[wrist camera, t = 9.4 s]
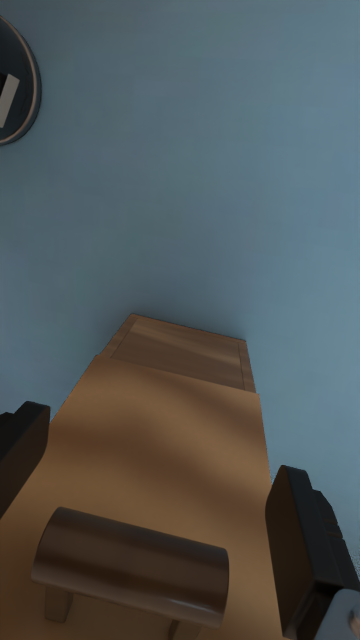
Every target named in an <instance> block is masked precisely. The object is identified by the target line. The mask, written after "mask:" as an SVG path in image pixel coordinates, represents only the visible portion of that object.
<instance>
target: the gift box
mask: <svg viewBox="0 0 360 640" xmlns="http://www.w3.org/2000/svg"><path fill="white" fill-rule="evenodd" d="M100 356H104V357H108V358H112V359H117V360H121V361H125V362H129V363H133V364H137V365H141V366H145V367H149V368H154V369H158V370H162V371H166V372H170V373H174V374H178V375H182V376H186V377H191V378H195V379H199V380H203V381H207V382H211V383H215V384H219V385H224V386H228V387H232V388H236V389H240V390H244V391H248V392H252V393H256V390H255V385H254V380H253V375H252V370H251V365H250V360H249V355H248V350H247V345H246V341H244V340H239V339H235V338H231V337H227V336H223V335H218V334H214V333H210V332H206V331H202V330H198V329H193V328H189V327H185V326H181V325H177V324H172V323H168V322H164V321H160V320H156V319H152V318H147V317H143V316H139V315H135V314H130V316H129V317H128V318H127V320H126V321H125V322H124V323H123V325H122V326H121V327H120V329H119V330H118V331H117V333H116V334H115V335H114V337H113V338H112V339H111V340H110V342H109V343H108V344H107V346H106V347H105V348H104V350H103V351H102V352H101V354H100Z"/></svg>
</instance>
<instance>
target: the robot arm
mask: <svg viewBox="0 0 360 640" xmlns="http://www.w3.org/2000/svg"><path fill="white" fill-rule="evenodd" d="M40 99H41V81H40V74H39V70H38V66H37V63H36V60H35V57H34V55H33V53H32V51H31V49H30V47H29V45H28V44H27V42H26V41H25V39H24V38H23V36H22V35H21V34H20V33H19V32H18V31H17V30H16V29H15V28H14V27H13V26H12V25H11V24H10V23H9V22H7V21H6V20H5V19H4V18H3V17H1V16H0V145H5V144H9V143H11V142H14V141H16V140H17V139H19V138H20V137H22V136H23V135H24V134H25V133H26V132H27V131H28V129H29V128H30V127H31V125H32V124H33V122H34V120H35V118H36V115H37V113H38V109H39V105H40ZM49 422H50V407H49V406H47V405H43V404H39V403H35V402H31V401H26V402H25V403H24V404H23V405H22V406H21V407H20V408H19V409H18V410H17V411H16V412H15V413H14V414H12V413H8V412H5V413H3V414H1V415H0V520H1V518H2V517H3V515H4V514H5V512H6V511H7V509H8V508H9V506H10V505H11V503H12V502H13V501H14V499H15V498H16V496H17V495H18V493H19V492H20V490H21V489H22V487H23V486H24V484H25V483H26V481H27V480H28V478H29V477H30V476H31V474H32V473H33V471H34V470H35V468H36V467H37V465H38V464H39V462H40V461H41V459H42V457H43V455H44V453H45V450H46V447H47V443H48V433H49ZM265 521H266V528H267V535H268V541H269V548H270V555H271V562H272V568H273V575H274V582H275V589H276V595H277V602H278V609H279V616H280V622H281V629H282V636H283V637H285V638H288V639H292V640H360V582H359V579H358V576H357V573H356V571H355V568H354V565H353V563H352V560H351V557H350V555H349V552H348V549H347V547H346V544H345V541H344V540H343V539H342V537H343V536H342V533H341V530H340V528H339V526H338V525H337V523H338V522H337V520H336V517H335V514H334V511H333V509H332V506H331V505H330V504H329V502H328V501H327V500H326V498H325V497H324V496H323V494H322V493H321V492H320V491H317V490H313V489H312V486H311V483H310V480H309V477H308V474H307V472H306V471H305V470H301V469H297V468H293V467H289V466H285V465H282V466H281V467H280V468H279V470H278V473H277V475H276V478H275V480H274V482H273V485H272V487H271V490H270V492H269V495H268V497H267V500H266V505H265Z"/></svg>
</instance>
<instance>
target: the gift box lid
mask: <svg viewBox="0 0 360 640" xmlns="http://www.w3.org/2000/svg"><path fill="white" fill-rule="evenodd" d="M271 487H272V484H271V477H270V470H269V463H268V455H267V448H266V441H265V434H264V427H263V419H262V412H261V405H260V398H259V394H256V393H252V392H248V391H244V390H240V389H236V388H232V387H228V386H224V385H219V384H215V383H211V382H207V381H203V380H199V379H195V378H191V377H186V376H182V375H178V374H174V373H170V372H166V371H162V370H158V369H154V368H149V367H145V366H141V365H137V364H133V363H129V362H125V361H121V360H117V359H112V358H108V357H104V356H100V355H96V356H95V358H94V359H93V361H92V362H91V363H90V365H89V366H88V368H87V369H86V371H85V372H84V374H83V375H82V377H81V378H80V380H79V381H78V383H77V384H76V386H75V387H74V389H73V390H72V392H71V393H70V395H69V396H68V397H67V399H66V400H65V402H64V403H63V405H62V406H61V408H60V409H59V411H58V412H57V414H56V415H55V417H54V418H53V420H52V421H51V423H50V424H49V433H48V443H47V447H46V450H45V453H44V455H43V457H42V459H41V461H40V462H39V464H38V465H37V467H36V468H35V470H34V471H33V473H32V474H31V476H30V477H29V478H28V480H27V481H26V483H25V484H24V486H23V487H22V489H21V490H20V492H19V493H18V495H17V496H16V498H15V499H14V501H13V502H12V503H11V505H10V506H9V508H8V509H7V511H6V512H5V514H4V515H3V517H2V518H1V520H0V640H292V639H288V638H285V637H283V636H282V629H281V622H280V616H279V609H278V602H277V595H276V589H275V582H274V575H273V568H272V562H271V555H270V548H269V541H268V535H267V528H266V521H265V505H266V500H267V497H268V495H269V492H270V490H271Z"/></svg>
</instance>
